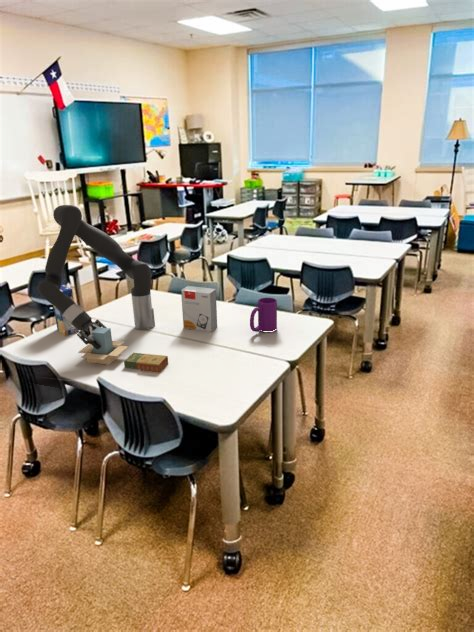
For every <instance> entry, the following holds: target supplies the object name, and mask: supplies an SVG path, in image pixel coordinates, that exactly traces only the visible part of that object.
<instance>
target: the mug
mask: <svg viewBox="0 0 474 632" xmlns="http://www.w3.org/2000/svg"><path fill="white" fill-rule="evenodd" d="M256 313H257V323H258V324H257V326H255V316H256ZM249 316H250V318H249V327H250V330H251V331H252V332H256V333H257V332H261V331H260V330H262V331H273V330H275V329H277V330H278V321H277V320H278V299H276V298H275V297H274V298H273V297H262V298H259V299H258V301H257V307H255V308H253V310H251V312H250V315H249Z"/></svg>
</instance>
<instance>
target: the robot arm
mask: <svg viewBox="0 0 474 632" xmlns="http://www.w3.org/2000/svg"><path fill="white" fill-rule="evenodd" d="M52 213H53V219H54V221H55V223H56V224H57V225H59V226H60V229H59V233H58V236H57V238H56V240H55V242H54V243H53V245H52V247H51V249H50V251H49V254H48V256H47V259H46V262H45V263H46V264H45V268H44V272H45V278H44V280H42V281H40V282H39V283H38V285H37V291H38V293H39V295H41V297H42V298H44V300H45V301H47V302H48V303H50V304H51V305H52V306H53V305H54V306H55V307H56V308H57V309H58V310H59V311H60V312H61V313H62V314H63V315H64V316H65V318H66V319H67V320H68V321H69V322H70V323H71V324H72V325H73V326H74V327H75V328H76V329H77V330H79V332H77V333H76V336H77V337H78V339H80V340H81V341H82V342H83V343H84V344H85V345H86V346H87V345H89V344H91V345H92V346H94V347H95V348H96V349H97V350H98V349H100V347H101V345H100V344H99V343H98V342H97V341H95V340H94V337H93V336H94V335H93V333H92V332H93V330H95V329H96V328H99V327H100V328H108V327H107V326H106V325H105V324H103V322H101V321H100V320H99V319H96V320H95V321H94V322H93V321H92V317H91V316H90V314H88V313H87V312H86V311H85V310H84V308H82V307H81V306H80V305H79V304H77V303H76V302H75V300H74V301H73V300H72V299H71V298H70V297H69V296H67V295H65V294H64V293H63V292H62V291H61V290H60V287H61V285H62V280H63V279H62V278H63V272H64V270H65V269H64V268H65V265H66V263H67V261H66V260H67V257H68V254H69V251H70V249H71V246H72V243H73V241H74V238H75V236H77V238H79V239H80V240H81V241H82V242H84V244H86V245H87V246H88V247H90V248H91V249H92V250H94V252H96V253H98V254H99V255H100V256H101V257H103V258H104V259H106V260H107V261H109V262H111V263H112V264H114V265H116V267H118V268H119V269H120V270H121V271H122V272H123V273H124V274H125V275H127V276H128V277H129V278H130V279H132V280H133V287H131V289H130V292H131V293H130V294H131V302H132V313H133V320H134V328H135V329H137V330H141V331H143V330H149V329H152V328H154V327H156V322H155V321H156V318H155V312H154V309H155V308H154V307H153V303H152V295H151V289H152V272H151V268H150V266H149V264H148V263H146V262H143V261H140V260H137V259H136V258H134V257H132V256H131V255H129V254H128V253H127V252H125V251H124V249H123V248H122V246H120V244H119V242H117V241H116V239H114V238H113V237H112V236H110V235H109V234H108V233H106V232H104V231H103V230H101V229H99V228H97V227H95V226H93V225H91V224H89V223H87V222H86V221H85V220H83V215H82V214H83V213H82V211H81V210H80V208H79V207H78V206H76V205H73V204H63V205H62V204H61V205H59V206H56V207H55V209H54V210H53V212H52Z"/></svg>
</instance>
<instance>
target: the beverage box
mask: <svg viewBox="0 0 474 632" xmlns="http://www.w3.org/2000/svg"><path fill="white" fill-rule="evenodd" d="M60 290H61V291H62V292H63V293H64V294H65V295H67V296H69V297H70V298H71V299H72V300H73V301H74V302H75V298H74V290H73V288H71V287H70V286H68V285H66V284H61V287H60ZM52 307H53V312H54V318H55V323H56V329H57V330H58V332H60V333H61V334H63V335H64V336H69V335H72V334H77V333H79V331H80V330H77V329H76V328H75V327H74V326H73V325H72V324H71V323H70V322H69V321H68V320H67V319H66V318H65V316H64V315H63V314H62V313H61V312H60V311H59V310H58V309H57V308H56V307H55V306H54V305H53V304H52ZM76 332H77V333H76Z"/></svg>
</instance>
